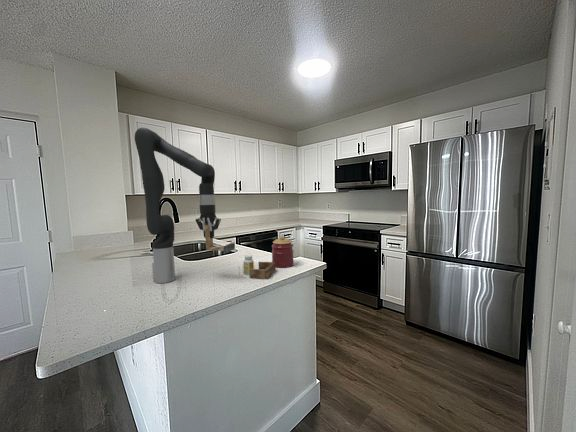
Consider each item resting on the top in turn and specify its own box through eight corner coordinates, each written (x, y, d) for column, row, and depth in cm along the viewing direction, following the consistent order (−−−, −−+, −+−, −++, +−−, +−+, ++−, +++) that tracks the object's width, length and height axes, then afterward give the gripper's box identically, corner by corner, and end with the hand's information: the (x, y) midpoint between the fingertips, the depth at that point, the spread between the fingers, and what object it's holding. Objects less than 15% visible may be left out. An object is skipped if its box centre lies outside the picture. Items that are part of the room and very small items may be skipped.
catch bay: (249, 278, 125) (249, 269, 125) (259, 269, 140) (259, 261, 139) (267, 279, 123) (267, 270, 123) (275, 270, 138) (275, 262, 137)
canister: (284, 260, 157) (283, 233, 155) (298, 264, 147) (297, 235, 145) (267, 265, 148) (266, 236, 147) (281, 269, 138) (280, 238, 137)
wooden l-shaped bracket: (203, 251, 121) (201, 225, 120) (211, 248, 129) (210, 223, 128) (227, 252, 118) (226, 225, 117) (234, 248, 126) (233, 223, 125)
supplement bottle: (243, 275, 130) (242, 257, 130) (244, 272, 136) (243, 255, 135) (253, 274, 131) (253, 256, 130) (254, 271, 136) (253, 254, 135)
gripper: (190, 204, 121) (192, 239, 123) (215, 204, 118) (217, 239, 119) (199, 203, 128) (201, 236, 130) (223, 203, 125) (225, 237, 126)
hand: (209, 238), depth 125 cm, fingers closed on wooden l-shaped bracket, 2 cm apart
